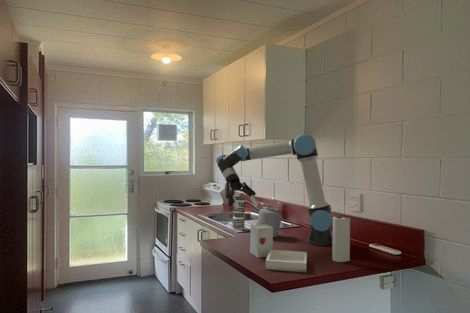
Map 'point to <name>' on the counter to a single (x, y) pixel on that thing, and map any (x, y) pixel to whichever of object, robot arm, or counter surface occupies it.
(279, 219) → the jar
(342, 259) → the paper towel roll
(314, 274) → the counter surface
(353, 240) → the counter surface
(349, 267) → the counter surface
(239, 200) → the decorative candle
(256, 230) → the supplement box
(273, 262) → the ceramic dish
